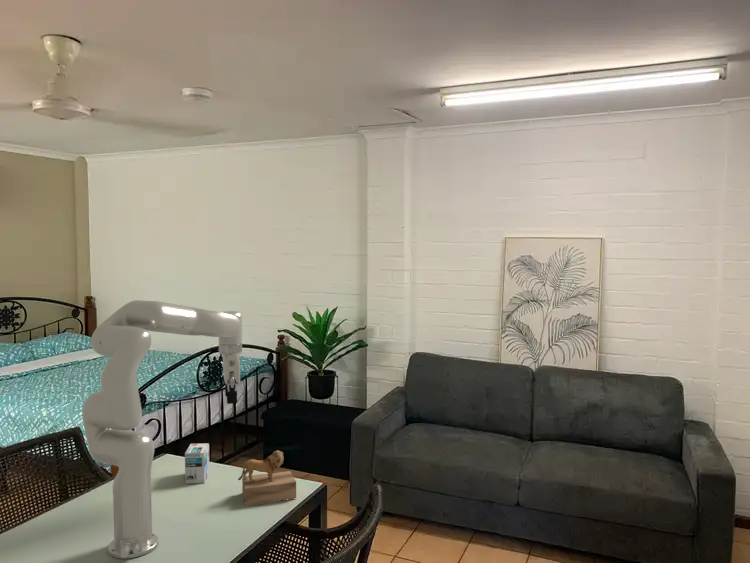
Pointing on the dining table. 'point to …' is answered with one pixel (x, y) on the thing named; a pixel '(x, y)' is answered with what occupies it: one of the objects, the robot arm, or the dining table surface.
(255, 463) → the lion figurine
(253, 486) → the walnut block
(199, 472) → the light bulb box
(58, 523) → the dining table surface
